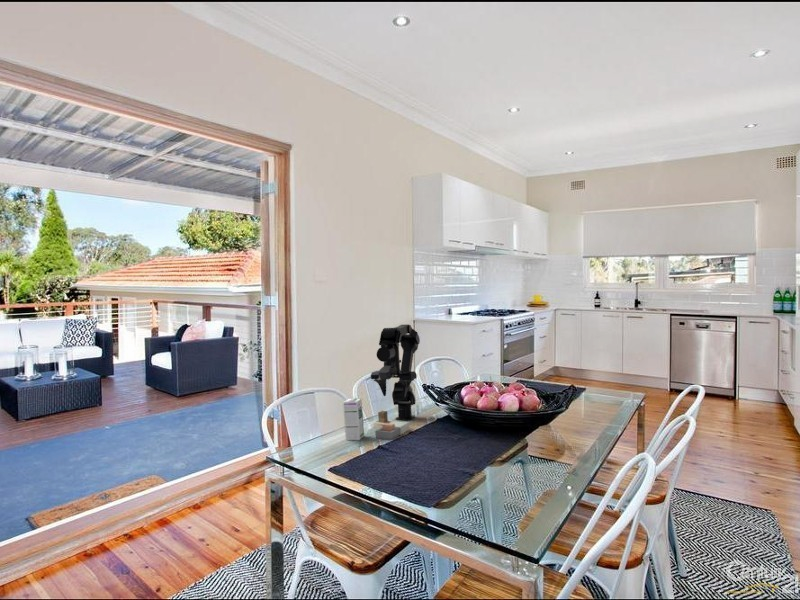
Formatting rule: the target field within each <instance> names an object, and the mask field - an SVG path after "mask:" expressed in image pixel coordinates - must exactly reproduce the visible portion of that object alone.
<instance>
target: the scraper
mask: <svg viewBox="0 0 800 600" xmlns="http://www.w3.org/2000/svg"><path fill="white" fill-rule="evenodd" d="M377 414H378V419H377V420H376V421H374V422H372V425H373V428H376V429H380V428H382V425H383V424H385V423H390V422H392V421H394V420H392V419H388V417H389V416H388V410H381V411H379V412H378V413H377Z"/></svg>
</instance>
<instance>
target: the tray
mask: <svg viewBox="0 0 800 600" xmlns="http://www.w3.org/2000/svg"><path fill="white" fill-rule="evenodd" d="M374 433H375V439H378V440H386V441H387V440H388V441H389V440H390V441H393V440H394V438H395V439H396V438H398V437H400V436H402V434H401V432H400V428H399V427H398V428H396V429H395V430H393V431H391V432H389V431H383V429H382V428H377V429H376V430H375V431H374ZM399 435H400V436H399ZM392 439H393V440H392Z"/></svg>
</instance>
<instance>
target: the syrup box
mask: <svg viewBox="0 0 800 600" xmlns="http://www.w3.org/2000/svg"><path fill="white" fill-rule="evenodd" d="M362 401H363V400H362V398H359V397H358V398H347V400H345V401H343V402H342V407H343V417H344V418H343V420H344V433H345V435H344V436H345V441H360V440H361V439H362V438H363V437H364V436H365V430H364V429H365V428H364V414H363V402H362Z"/></svg>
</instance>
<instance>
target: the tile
mask: <svg viewBox="0 0 800 600" xmlns="http://www.w3.org/2000/svg"><path fill="white" fill-rule="evenodd" d="M382 429H383V431H389V432H391V431H393V430H395V424H390V423H385V424H383V425H382Z"/></svg>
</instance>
